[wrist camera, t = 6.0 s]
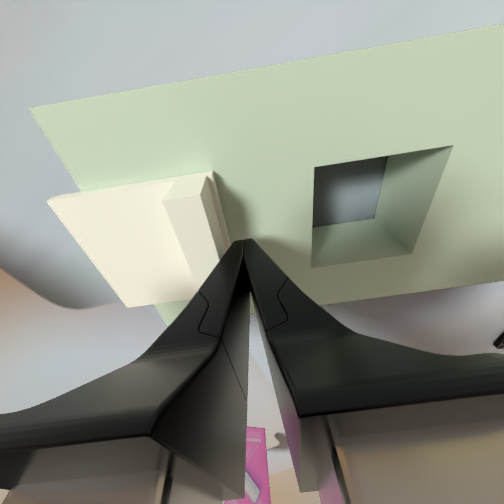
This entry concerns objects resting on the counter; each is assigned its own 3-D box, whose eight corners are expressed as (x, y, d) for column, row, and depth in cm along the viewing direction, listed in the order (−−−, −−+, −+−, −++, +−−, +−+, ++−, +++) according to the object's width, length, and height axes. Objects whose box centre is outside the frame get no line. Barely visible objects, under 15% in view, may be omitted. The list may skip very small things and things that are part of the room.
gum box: (123, 430, 38) (79, 567, 27) (131, 415, 34) (81, 569, 23) (248, 439, 45) (251, 549, 34) (266, 426, 41) (277, 548, 30)
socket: (635, 6, 9) (843, -37, 6) (489, 238, 17) (550, 274, 13) (93, 101, 10) (27, 108, 7) (179, 282, 17) (166, 326, 14)
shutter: (212, 170, 8) (206, 193, 7) (240, 285, 12) (241, 319, 10) (55, 196, 9) (6, 224, 7) (130, 300, 13) (112, 337, 11)
